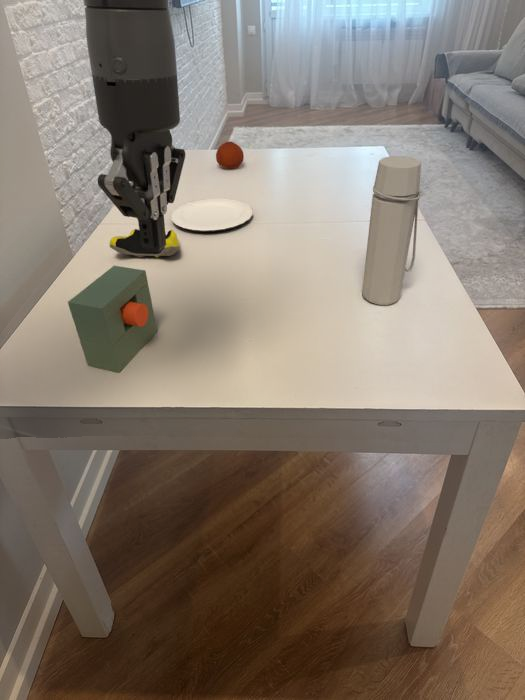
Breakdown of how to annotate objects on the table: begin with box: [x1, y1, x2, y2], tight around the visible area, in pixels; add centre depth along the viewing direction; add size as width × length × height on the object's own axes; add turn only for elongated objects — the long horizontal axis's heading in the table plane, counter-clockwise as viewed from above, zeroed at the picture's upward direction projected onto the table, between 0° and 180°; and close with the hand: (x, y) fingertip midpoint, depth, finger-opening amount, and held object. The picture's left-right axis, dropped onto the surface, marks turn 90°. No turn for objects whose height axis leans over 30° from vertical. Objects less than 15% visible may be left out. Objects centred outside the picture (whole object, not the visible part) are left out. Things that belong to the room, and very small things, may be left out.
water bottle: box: [361, 155, 423, 306], centre depth 85 cm, size 9×8×25 cm
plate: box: [170, 198, 253, 232], centre depth 125 cm, size 21×21×2 cm
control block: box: [67, 265, 158, 374], centre depth 79 cm, size 6×12×12 cm, turn 160°
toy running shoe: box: [109, 228, 180, 259], centre depth 109 cm, size 15×6×10 cm
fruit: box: [215, 141, 245, 170], centre depth 157 cm, size 9×9×8 cm
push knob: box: [120, 301, 148, 327], centre depth 77 cm, size 3×4×4 cm
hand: (154, 248), depth 54 cm, fingers closed
